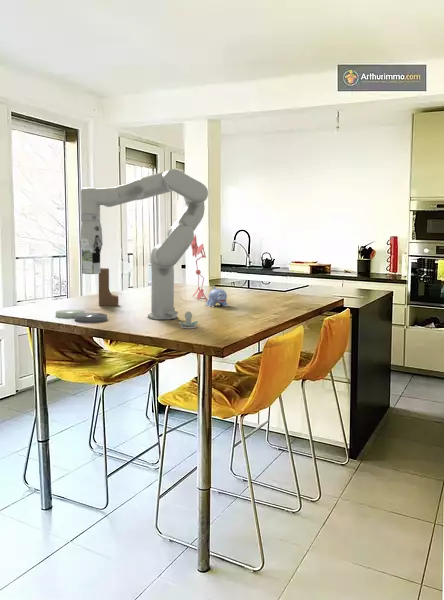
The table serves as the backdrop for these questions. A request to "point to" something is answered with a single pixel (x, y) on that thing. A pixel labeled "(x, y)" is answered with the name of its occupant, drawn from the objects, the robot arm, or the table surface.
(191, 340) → the table surface
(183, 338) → the table surface
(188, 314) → the pacifier
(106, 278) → the wooden block
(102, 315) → the disc
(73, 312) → the disc
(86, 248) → the syrup box
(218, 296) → the hippopotamus toy
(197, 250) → the pink articulated figure
